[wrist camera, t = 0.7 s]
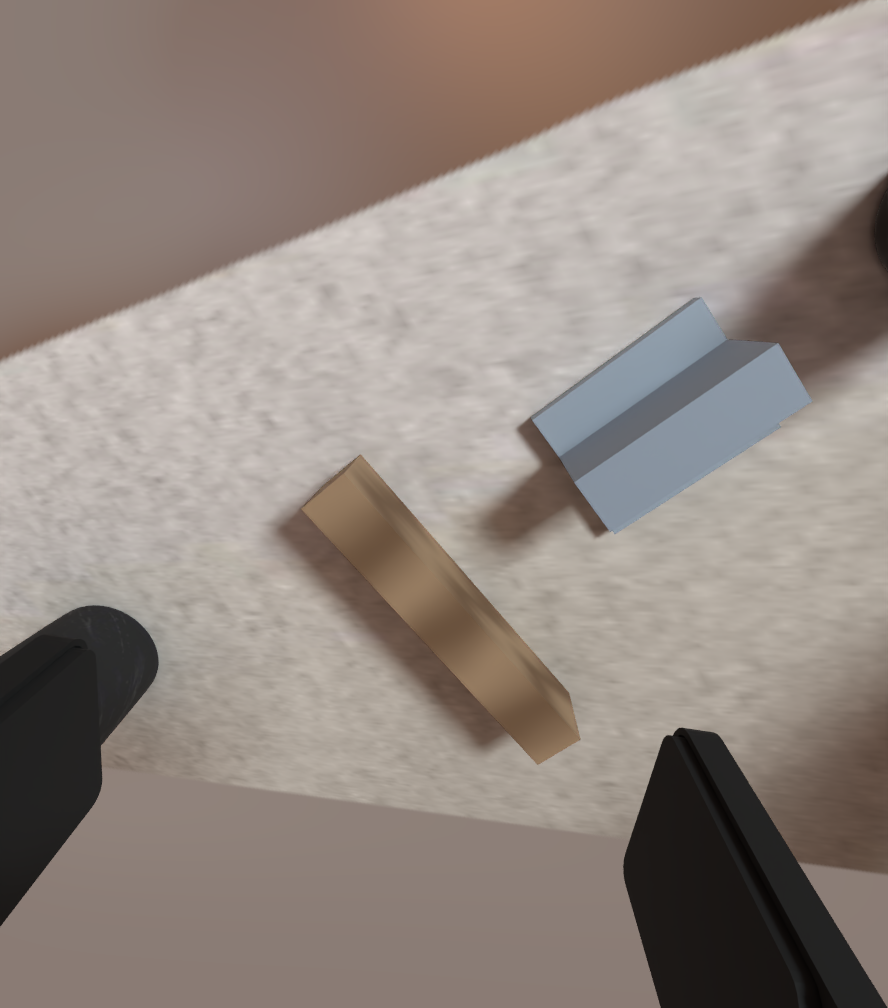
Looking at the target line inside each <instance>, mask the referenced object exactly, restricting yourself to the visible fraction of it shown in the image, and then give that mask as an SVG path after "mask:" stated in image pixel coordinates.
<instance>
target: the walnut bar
mask: <svg viewBox="0 0 888 1008" xmlns="http://www.w3.org/2000/svg"><path fill="white" fill-rule="evenodd" d="M301 510H302V511H303V512H304V513H305V514H306V515H307V516H308V517H309V518H310V519H311V520H312V522H313V523H314V524H315V525H316V526H317V527H318V528H319V529H320V530H321V531H322V532H323V533H324V535H325V536H326V537H327V538H328V539H329V540H330V541H331V542H332V543H333V544H334V545H335V546H336V547H337V549H338V550H339V551H340V552H341V553H342V554H343V555H344V556H345V557H346V558H347V559H348V560H349V562H350V563H351V564H352V565H353V566H354V567H355V568H356V569H357V570H358V571H359V572H360V573H361V574H362V576H363V577H364V578H365V579H366V580H367V581H368V582H369V583H370V584H371V585H372V586H373V587H374V589H375V590H376V591H377V592H378V593H379V594H380V595H381V596H382V597H383V598H384V599H385V600H386V602H387V603H388V604H389V605H390V606H391V607H392V608H393V609H394V610H395V611H396V612H397V613H398V614H399V616H400V617H401V618H402V619H403V620H404V621H405V622H406V623H407V624H408V625H409V626H410V627H411V629H412V630H413V631H414V632H415V633H416V634H417V635H418V636H419V637H420V638H421V639H422V640H423V641H424V643H425V644H426V645H427V646H428V647H429V648H430V649H431V650H432V651H433V652H434V653H435V654H436V656H437V657H438V658H439V659H440V660H441V661H442V662H443V663H444V664H445V665H446V666H447V667H448V668H449V670H450V671H451V672H452V673H453V674H454V675H455V676H456V677H457V678H458V679H459V680H460V681H461V683H462V684H463V685H464V686H465V687H466V688H467V689H468V690H469V691H470V692H471V693H472V694H473V695H474V697H475V698H476V699H477V700H478V701H479V702H480V703H481V704H482V705H483V706H484V707H485V708H486V710H487V711H488V712H489V713H490V714H491V715H492V716H493V717H494V718H495V719H496V720H497V721H498V722H499V724H500V725H501V726H502V727H503V728H504V729H505V730H506V731H507V732H508V733H509V734H510V735H511V737H512V738H513V739H514V740H515V741H516V742H517V743H518V744H519V745H520V746H521V747H522V748H523V750H524V751H525V752H526V753H527V754H528V755H529V756H530V757H531V758H532V759H533V760H534V761H535V762H536V764H537V765H538V764H540V763H542V762H543V761H545V760H547V759H548V758H550V757H552V756H553V755H555V754H557V753H558V752H560V751H562V750H563V749H565V748H567V747H568V746H570V745H572V744H574V743H575V742H577V741H579V740H580V736H579V731H578V727H577V723H576V719H575V715H574V711H573V707H572V703H571V699H570V695H569V692H568V691H567V690H566V689H565V688H564V687H563V685H562V684H561V683H560V682H559V681H558V680H557V679H556V677H555V676H554V675H553V674H552V673H551V672H550V671H549V669H548V668H547V667H546V666H545V665H544V664H543V663H542V661H541V660H540V659H539V658H538V657H537V656H536V655H535V653H534V652H533V651H532V650H531V649H530V648H529V647H528V645H527V644H526V643H525V642H524V641H523V640H522V639H521V637H520V636H519V635H518V634H517V633H516V632H515V631H514V629H513V628H512V627H511V626H510V625H509V624H508V623H507V621H506V620H505V619H504V618H503V617H502V616H501V614H500V613H499V612H498V611H497V610H496V609H495V608H494V606H493V605H492V604H491V603H490V602H489V601H488V600H487V598H486V597H485V596H484V595H483V594H482V593H481V592H480V590H479V589H478V588H477V587H476V586H475V585H474V584H473V582H472V581H471V580H470V579H469V578H468V577H467V576H466V574H465V573H464V572H463V571H462V570H461V569H460V568H459V566H458V565H457V564H456V563H455V562H454V561H453V560H452V558H451V557H450V556H449V555H448V554H447V553H446V552H445V550H444V549H443V548H442V547H441V546H440V545H439V544H438V542H437V541H436V540H435V539H434V538H433V537H432V536H431V534H430V533H429V532H428V531H427V530H426V529H425V528H424V526H423V525H422V524H421V523H420V522H419V521H418V520H417V518H416V517H415V516H414V515H413V514H412V513H411V511H410V510H409V509H408V508H407V507H406V506H405V505H404V503H403V502H402V501H401V500H400V499H399V498H398V497H397V495H396V494H395V493H394V492H393V491H392V490H391V489H390V487H389V486H388V485H387V484H386V483H385V482H384V481H383V479H382V478H381V477H380V476H379V475H378V474H377V473H376V471H375V470H374V469H373V468H372V467H371V466H370V465H369V463H368V462H367V461H366V460H365V459H364V458H363V457H362V455H359V456H358V457H357V458H356V459H355V460H353V461H352V462H351V463H350V464H349V465H347V466H346V467H345V468H344V469H343V470H341V471H340V472H339V473H338V474H337V475H336V476H334V477H333V478H332V479H331V480H330V481H328V482H327V483H326V484H325V485H324V486H322V487H321V489H320V490H319V491H318V492H317V493H316V494H315V495H314V496H313V497H312V498H311V499H310V500H309V501H308V502H307V503H306V504H305V505H304V507H303V508H302V509H301Z"/></svg>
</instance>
